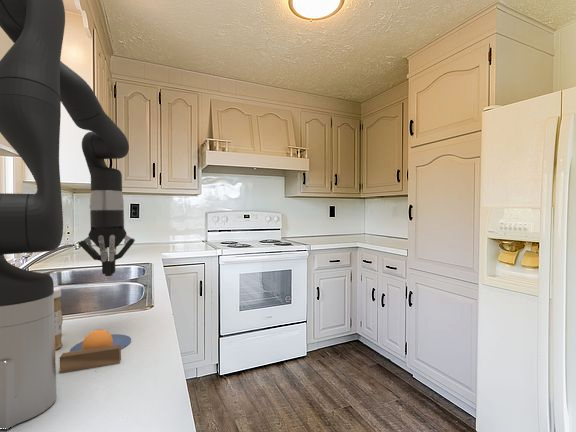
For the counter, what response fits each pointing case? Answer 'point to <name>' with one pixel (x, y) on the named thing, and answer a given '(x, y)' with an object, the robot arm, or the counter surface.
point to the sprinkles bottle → (57, 317)
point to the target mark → (117, 340)
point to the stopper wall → (90, 358)
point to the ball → (97, 340)
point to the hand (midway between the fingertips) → (108, 275)
